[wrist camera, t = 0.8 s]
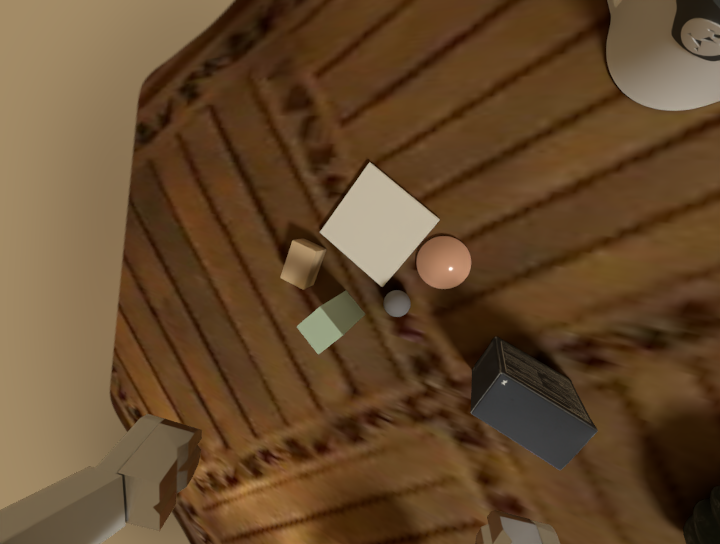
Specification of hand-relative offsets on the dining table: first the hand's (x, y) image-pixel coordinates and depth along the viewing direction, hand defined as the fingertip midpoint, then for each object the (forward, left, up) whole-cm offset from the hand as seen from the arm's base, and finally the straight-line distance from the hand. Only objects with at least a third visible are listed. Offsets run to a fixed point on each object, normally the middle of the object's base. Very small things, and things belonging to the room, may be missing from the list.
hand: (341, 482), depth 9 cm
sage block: (+15, -7, -38) cm, 42 cm away
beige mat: (+2, -11, -38) cm, 40 cm away
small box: (+5, +16, -39) cm, 42 cm away
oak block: (+13, -16, -39) cm, 44 cm away
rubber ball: (+8, -2, -37) cm, 38 cm away
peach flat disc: (0, -1, -39) cm, 39 cm away
